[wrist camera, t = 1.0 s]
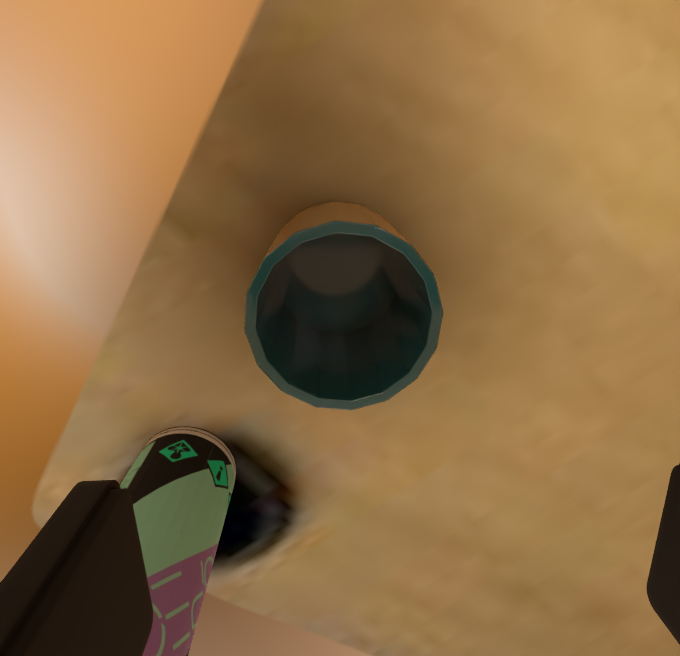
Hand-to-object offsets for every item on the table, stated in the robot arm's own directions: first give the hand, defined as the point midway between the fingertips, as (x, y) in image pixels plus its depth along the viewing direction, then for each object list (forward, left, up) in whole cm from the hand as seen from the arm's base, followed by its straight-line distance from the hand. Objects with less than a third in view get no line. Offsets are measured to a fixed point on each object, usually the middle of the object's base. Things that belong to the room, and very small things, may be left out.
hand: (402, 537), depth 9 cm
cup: (-1, +1, -17) cm, 17 cm away
